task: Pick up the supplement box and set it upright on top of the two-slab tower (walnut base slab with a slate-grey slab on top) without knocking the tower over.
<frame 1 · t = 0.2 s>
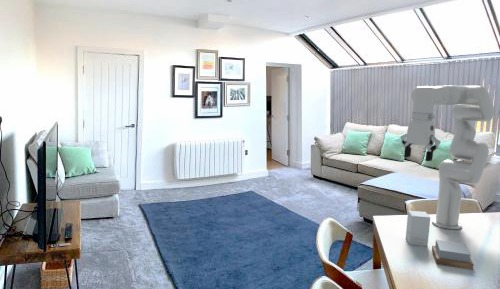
hand: (417, 158, 150), 36 cm above the table, tool pointing down, fingers open, 9 cm apart
walnut base slab: (451, 261, 140), on the table, touching slate grey slab
slate grey slab: (451, 254, 140), point 2 cm above the table, touching walnut base slab
supplement box: (416, 242, 156), on the table
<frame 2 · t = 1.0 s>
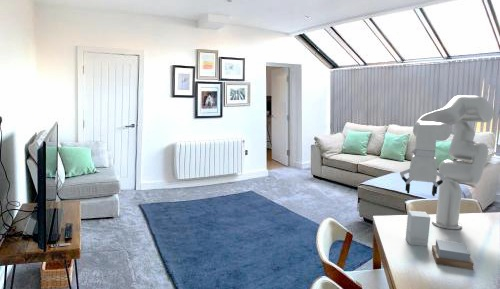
hand: (420, 193, 152), 21 cm above the table, tool pointing down, fingers open, 9 cm apart
nothing on the table moved.
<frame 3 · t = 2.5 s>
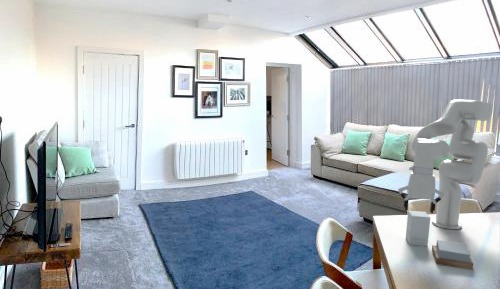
hand: (418, 210, 153), 14 cm above the table, tool pointing down, fingers open, 9 cm apart
nothing on the table moved.
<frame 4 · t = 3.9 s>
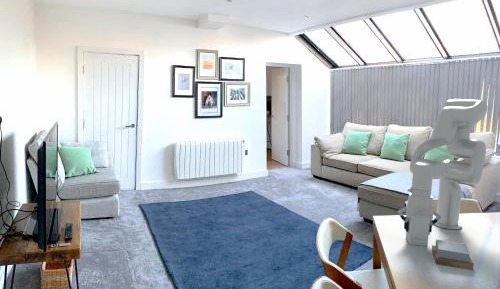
hand: (417, 231, 155), 5 cm above the table, tool pointing down, fingers closed on supplement box, 7 cm apart
supplement box: (416, 242, 156), on the table, touching gripper
everything else where it was.
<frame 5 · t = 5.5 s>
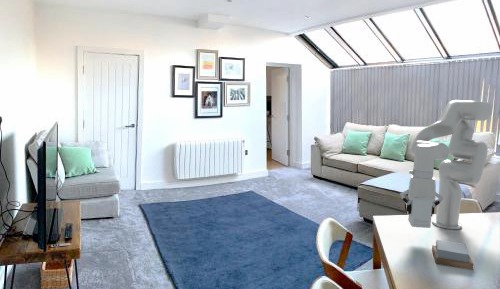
hand: (419, 214, 154), 12 cm above the table, tool pointing down, fingers closed on supplement box, 7 cm apart
supplement box: (419, 224, 155), point 7 cm above the table, touching gripper
everything else where it was.
when the fingers open (11 cm above the table, at t = 10.4 s): supplement box drops 1 cm, resting on slate grey slab.
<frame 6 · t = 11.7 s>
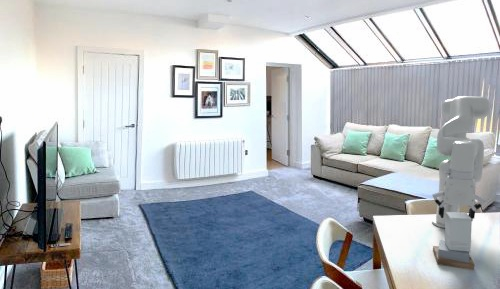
hand: (455, 218, 138), 16 cm above the table, tool pointing down, fingers open, 9 cm apart
slate grey slab: (452, 254, 140), point 2 cm above the table, touching supplement box, walnut base slab
supplement box: (457, 247, 139), point 5 cm above the table, touching gripper, slate grey slab
everything else where it was.
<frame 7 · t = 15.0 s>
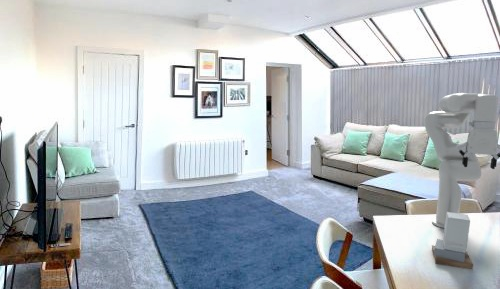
hand: (478, 167, 148), 33 cm above the table, tool pointing down, fingers open, 9 cm apart
slate grey slab: (449, 253, 140), point 2 cm above the table, touching supplement box, walnut base slab
supplement box: (453, 248, 139), point 5 cm above the table, touching slate grey slab
everything else where it was.
at the end: supplement box 1.2 cm off-centre on the slate grey slab, point 2.8 cm above the slate grey slab's base; supplement box tilted 1°; slate grey slab 0.7 cm off-centre on the walnut base slab, point 3.0 cm above the walnut base slab's base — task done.
